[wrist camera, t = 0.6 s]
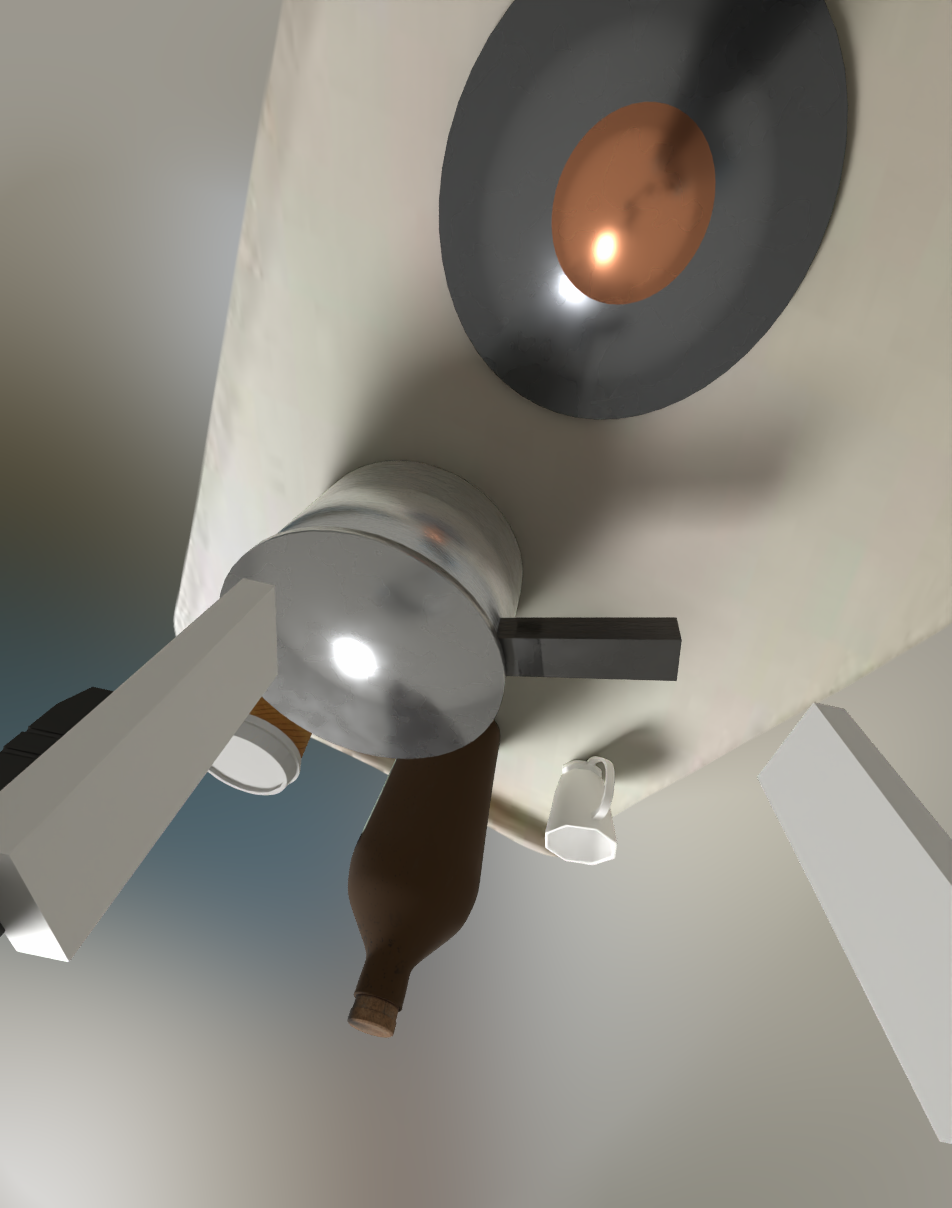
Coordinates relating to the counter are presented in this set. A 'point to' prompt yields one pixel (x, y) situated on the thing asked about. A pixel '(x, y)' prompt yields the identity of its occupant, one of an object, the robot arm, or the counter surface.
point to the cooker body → (420, 616)
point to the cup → (583, 813)
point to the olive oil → (418, 870)
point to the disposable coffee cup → (262, 752)
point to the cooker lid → (638, 191)
